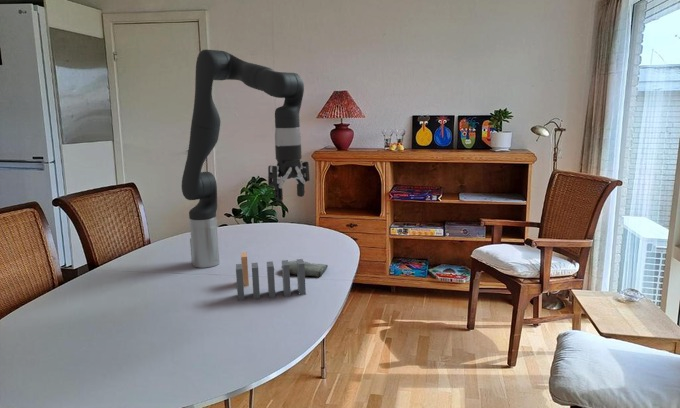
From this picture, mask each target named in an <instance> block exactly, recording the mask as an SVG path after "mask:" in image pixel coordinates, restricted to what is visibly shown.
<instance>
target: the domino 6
mask: <svg viewBox="0 0 680 408" xmlns="http://www.w3.org/2000/svg"><path fill="white" fill-rule="evenodd" d="M296 261H297V275H296V276H297V279H296V280H297V290H298V295H300V296H304V295H306V294H307V293H306V290H307V289H306V276H305V264H304V262H305V261H304V259H303V258H300V259H299V258H298V259H296Z"/></svg>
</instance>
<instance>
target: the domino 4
mask: <svg viewBox="0 0 680 408" xmlns="http://www.w3.org/2000/svg"><path fill="white" fill-rule="evenodd" d="M266 273H267V275H266V277H267V291H268V298H269V299H271V298H276V287H275V285H276V283H275V267H274V261H266Z"/></svg>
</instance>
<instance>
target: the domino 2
mask: <svg viewBox="0 0 680 408" xmlns="http://www.w3.org/2000/svg"><path fill="white" fill-rule="evenodd" d="M240 260H241V262H240V263H241V264H242V269H243V284H244V287H249V286H250V285H249V283H250V282H249V267H248V266H249V264H248V252H241V253H240Z"/></svg>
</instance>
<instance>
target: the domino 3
mask: <svg viewBox="0 0 680 408" xmlns="http://www.w3.org/2000/svg"><path fill="white" fill-rule="evenodd" d="M251 277H252V279H251V280H252V292H253V296H252V297H253V300H260V299H261V292H260V279H259V277H260V275H259V263H258V262H251Z"/></svg>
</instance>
